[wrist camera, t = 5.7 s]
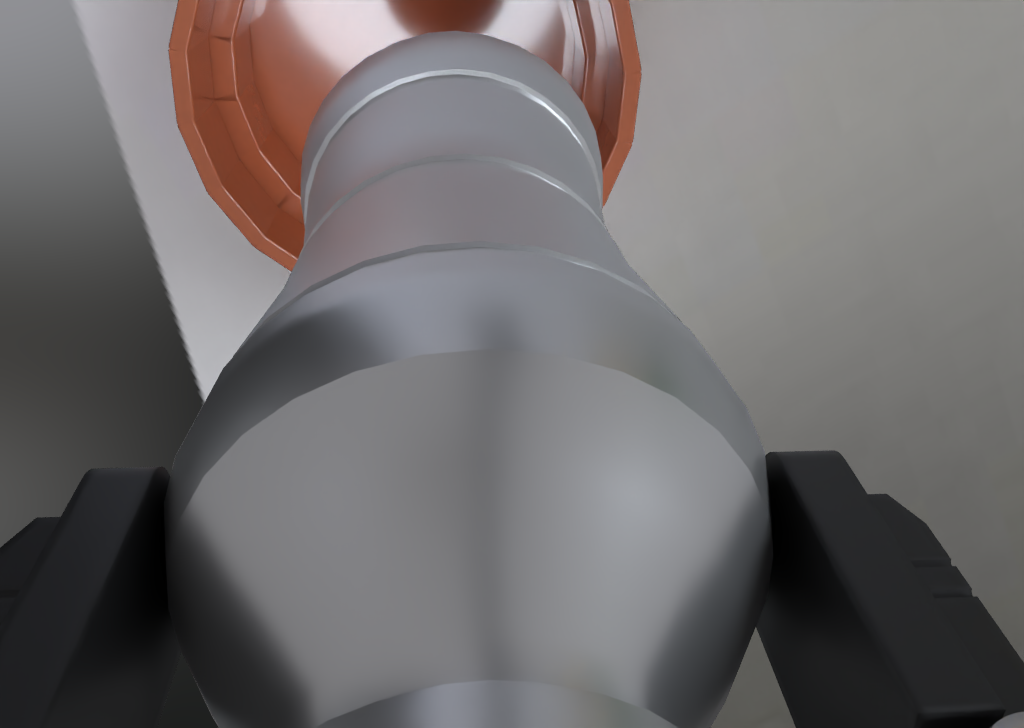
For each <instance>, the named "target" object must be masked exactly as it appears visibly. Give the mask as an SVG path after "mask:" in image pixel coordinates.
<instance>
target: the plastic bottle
mask: <svg viewBox="0 0 1024 728" xmlns="http://www.w3.org/2000/svg"><path fill="white" fill-rule="evenodd" d="M301 206H302V213H303V219H304V225H305V236H304V245H303V248H302V250H301V252H300V255H299V258H298V260H297V262H296V264H295V266H294V268H293V270H292V272H291V274H290V276H289V278H288V281H287V283H286V285H285V287H284V289H283V290H282V291H281V293H280V294H279V295H278V297H277V298H276V299H275V301H274V302H273V303H272V305H271V306H270V307H269V309H268V310H267V312H266V313H265V314H264V316H263V317H262V318H261V320H260V321H259V322H258V324H257V325H256V326H255V328H254V329H253V330H252V332H251V333H250V334H249V336H248V337H247V338H246V340H245V341H244V342H243V344H242V345H241V346H240V348H239V349H238V351H237V352H236V353H235V355H234V356H233V358H232V359H231V360H230V361H229V363H228V364H227V365H226V366H225V367H224V368H223V370H222V372H221V374H220V375H219V377H218V379H217V381H216V383H215V385H214V386H213V388H212V390H211V392H210V394H209V396H208V397H207V399H206V401H205V403H204V405H203V407H202V408H201V410H200V412H199V414H198V416H197V417H196V419H195V421H194V423H193V425H192V427H191V428H190V430H189V432H188V434H187V436H186V438H185V440H184V442H183V443H182V445H181V447H180V449H179V451H178V452H177V454H176V456H175V460H174V464H173V468H172V472H171V476H170V480H169V484H168V488H167V492H166V496H165V500H164V531H165V560H166V578H167V595H168V610H169V613H170V616H171V620H172V623H173V626H174V629H175V633H176V636H177V639H178V642H179V646H180V649H181V652H182V654H183V656H184V658H185V660H186V662H187V664H188V666H189V668H190V670H191V673H192V675H193V677H194V679H195V681H196V683H197V685H198V687H199V689H200V692H201V694H202V696H203V698H204V700H205V702H206V704H207V706H208V708H209V710H210V713H211V715H212V717H213V718H214V720H215V721H216V723H217V725H218V726H219V728H710V727H711V726H712V724H713V722H714V721H715V719H716V717H717V715H718V714H719V712H720V710H721V709H722V707H723V705H724V703H725V701H726V699H727V697H728V694H729V692H730V689H731V687H732V684H733V682H734V679H735V677H736V674H737V672H738V669H739V667H740V664H741V662H742V659H743V657H744V654H745V652H746V649H747V647H748V644H749V642H750V639H751V637H752V634H753V632H754V629H755V627H756V624H757V622H758V619H759V617H760V614H761V612H762V609H763V607H764V604H765V602H766V599H767V596H768V589H769V582H770V575H771V568H772V561H773V539H772V518H771V498H770V488H769V481H768V473H767V465H766V458H765V451H764V448H763V446H762V443H761V441H760V438H759V436H758V434H757V431H756V429H755V426H754V424H753V422H752V419H751V417H750V414H749V412H748V410H747V407H746V406H745V404H744V403H743V402H742V400H741V399H740V398H739V396H738V395H737V393H736V392H735V391H734V389H733V388H732V387H731V385H730V384H729V382H728V381H727V379H726V378H725V376H724V375H723V373H722V372H721V370H720V369H719V367H718V366H717V364H716V363H715V362H714V361H713V359H712V358H711V357H710V355H709V354H708V353H707V351H706V350H705V349H704V347H703V346H702V345H701V343H700V342H699V341H698V339H697V338H696V337H695V335H694V334H693V333H692V331H691V330H690V329H689V328H688V327H686V326H685V325H684V324H683V323H682V322H681V321H680V319H679V318H678V317H677V316H676V315H675V314H674V313H673V312H672V311H671V310H670V308H669V307H668V306H667V305H666V304H665V303H664V302H663V301H662V300H661V299H660V298H659V297H658V296H657V295H656V294H655V292H654V291H653V290H652V289H651V288H650V287H649V286H648V285H647V284H646V283H645V282H644V281H643V280H642V279H641V277H640V276H639V275H638V274H637V273H636V272H635V271H634V270H633V269H632V268H631V267H630V266H629V265H628V263H627V261H626V260H625V258H624V256H623V255H622V253H621V251H620V250H619V248H618V246H617V245H616V243H615V241H614V240H613V239H612V237H611V236H610V234H609V232H608V230H607V228H606V226H605V224H604V219H603V214H602V206H603V173H602V163H601V156H600V151H599V146H598V141H597V136H596V131H595V129H594V126H593V124H592V122H591V119H590V117H589V115H588V112H587V110H586V108H585V106H584V104H583V102H582V101H581V100H580V98H579V97H578V96H577V94H576V93H575V91H574V90H573V89H572V87H571V86H570V84H569V83H568V82H567V81H566V80H565V79H564V78H563V77H562V76H561V75H560V74H559V73H558V72H557V71H555V70H554V69H553V68H552V67H551V66H550V65H549V64H548V63H547V62H545V61H544V60H542V59H541V58H539V57H537V56H535V55H534V54H532V53H530V52H529V51H527V50H525V49H523V48H522V47H520V46H518V45H515V44H512V43H509V42H506V41H503V40H500V39H497V38H494V37H491V36H488V35H484V34H477V33H469V32H461V31H447V32H434V33H426V34H422V35H419V36H415V37H412V38H408V39H405V40H401V41H398V42H396V43H393V44H392V45H390V46H388V47H386V48H384V49H382V50H380V51H378V52H376V53H374V54H372V55H370V56H368V57H366V58H365V59H364V60H363V61H361V62H360V63H359V64H358V65H356V66H355V67H354V68H353V69H351V70H350V71H349V72H348V73H346V74H345V75H344V76H343V77H342V78H341V79H340V80H339V82H338V83H337V84H336V85H335V86H334V88H333V89H332V90H331V91H330V93H329V94H328V95H327V96H326V97H325V99H324V100H323V102H322V104H321V106H320V107H319V109H318V111H317V113H316V115H315V117H314V119H313V121H312V123H311V125H310V127H309V131H308V135H307V138H306V142H305V145H304V149H303V153H302V167H301Z"/></svg>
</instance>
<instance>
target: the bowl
mask: <svg viewBox="0 0 1024 728" xmlns="http://www.w3.org/2000/svg"><path fill="white" fill-rule="evenodd" d="M447 31H461V32H469V33H477V34H484V35H488V36H491V37H494V38H497V39H500V40H503V41H506V42H509V43H512V44H515V45H518V46H520V47H522V48H523V49H525V50H527V51H529V52H530V53H532V54H534V55H535V56H537V57H539V58H541V59H542V60H544V61H545V62H547V63H548V64H549V65H550V66H551V67H552V68H553V69H554V70H555V71H557V72H558V73H559V74H560V75H561V76H562V77H563V78H564V79H565V80H566V81H567V82H568V83H569V84H570V86H571V87H572V89H573V90H574V91H575V93H576V94H577V96H578V97H579V98H580V100H581V101H582V102H583V104H584V106H585V108H586V110H587V112H588V115H589V117H590V119H591V122H592V124H593V126H594V129H595V131H596V136H597V141H598V146H599V151H600V156H601V163H602V173H603V206H604V205H605V203H606V201H607V199H608V197H609V194H610V192H611V190H612V188H613V186H614V184H615V181H616V179H617V177H618V175H619V173H620V170H621V168H622V166H623V164H624V162H625V159H626V157H627V155H628V153H629V151H630V148H631V146H632V142H633V138H634V130H635V122H636V114H637V106H638V98H639V90H640V82H641V64H640V59H639V53H638V48H637V42H636V37H635V31H634V26H633V20H632V15H631V9H630V4H629V0H178V4H177V9H176V14H175V18H174V23H173V28H172V33H171V38H170V42H169V50H168V51H169V60H170V68H171V77H172V85H173V94H174V102H175V111H176V119H177V124H178V128H179V130H180V132H181V135H182V137H183V139H184V141H185V144H186V146H187V148H188V150H189V153H190V155H191V157H192V159H193V162H194V164H195V166H196V168H197V171H198V173H199V175H200V177H201V180H202V182H203V184H204V186H205V188H206V191H207V192H208V194H209V195H210V196H211V197H212V199H213V200H214V201H215V202H216V203H217V204H218V206H219V207H220V208H221V209H222V210H223V212H224V213H225V214H226V215H227V216H228V217H229V219H230V220H231V221H232V222H233V223H234V224H235V226H236V227H237V228H238V229H239V230H240V231H241V233H242V234H243V235H244V236H245V237H246V238H247V240H248V241H249V242H250V243H251V244H252V245H253V246H254V247H255V248H256V249H258V250H259V251H261V252H262V253H264V254H265V255H267V256H268V257H270V258H271V259H273V260H275V261H276V262H278V263H279V264H281V265H282V266H284V267H285V268H287V269H288V270H290V271H291V272H292V270H293V268H294V266H295V264H296V262H297V260H298V258H299V255H300V252H301V250H302V248H303V245H304V236H305V225H304V219H303V213H302V206H301V167H302V153H303V149H304V145H305V142H306V138H307V135H308V131H309V127H310V125H311V123H312V121H313V119H314V117H315V115H316V113H317V111H318V109H319V107H320V106H321V104H322V102H323V100H324V99H325V97H326V96H327V95H328V94H329V93H330V91H331V90H332V89H333V88H334V86H335V85H336V84H337V83H338V82H339V80H340V79H341V78H342V77H343V76H344V75H345V74H346V73H348V72H349V71H350V70H351V69H353V68H354V67H355V66H356V65H358V64H359V63H360V62H361V61H363V60H364V59H365V58H366V57H368V56H370V55H372V54H374V53H376V52H378V51H380V50H382V49H384V48H386V47H388V46H390V45H392V44H393V43H396V42H398V41H401V40H405V39H408V38H412V37H415V36H419V35H422V34H426V33H434V32H447ZM603 206H602V208H603Z"/></svg>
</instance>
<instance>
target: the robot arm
mask: <svg viewBox="0 0 1024 728" xmlns="http://www.w3.org/2000/svg"><path fill="white" fill-rule="evenodd" d="M765 458H766V465H767V473H768V481H769V488H770V498H771V518H772V539H773V561H772V568H771V575H770V582H769V589H768V596H767V599H766V602H765V604H764V607H763V609H762V612H761V614H760V617H759V619H758V622H757V624H756V628H757V630H758V633H759V635H760V638H761V641H762V643H763V646H764V648H765V651H766V653H767V656H768V658H769V661H770V663H771V666H772V668H773V671H774V673H775V676H776V678H777V681H778V683H779V686H780V688H781V691H782V694H783V696H784V699H785V701H786V704H787V706H788V709H789V711H790V714H791V716H792V719H793V721H794V724H795V726H796V728H1024V662H1023V661H1022V660H1021V658H1020V657H1019V655H1018V654H1017V652H1016V651H1015V650H1014V648H1013V647H1012V645H1011V644H1010V643H1009V641H1008V640H1007V638H1006V637H1005V635H1004V634H1003V633H1002V631H1001V630H1000V628H999V627H998V625H997V624H996V623H995V621H994V620H993V618H992V617H991V615H990V614H989V613H988V611H987V610H986V608H985V607H984V605H983V604H982V603H981V601H980V600H979V598H978V597H973V596H972V592H971V590H972V588H971V587H970V586H969V584H968V583H967V581H966V580H965V578H964V577H963V576H962V574H961V573H960V571H959V570H958V568H957V567H956V566H952V565H951V559H950V557H949V556H948V554H947V553H946V551H945V550H944V549H943V547H942V546H941V544H940V543H939V541H938V540H937V539H936V537H935V536H934V534H933V533H932V531H931V530H930V529H929V527H928V526H927V524H926V523H924V522H923V521H922V520H920V519H919V518H918V517H917V516H915V515H914V514H913V513H911V512H910V511H909V510H907V509H906V508H905V507H903V506H902V505H901V504H899V503H898V502H897V501H895V500H894V499H893V498H891V497H890V496H889V495H887V494H867V493H866V491H865V490H864V488H863V487H862V485H861V484H860V482H859V480H858V479H857V477H856V476H855V474H854V473H853V471H852V470H851V468H850V466H849V465H848V463H847V462H846V460H845V459H844V457H843V456H842V455H841V454H840V453H839V452H837V451H795V452H770V453H768V454H767V455H766V456H765ZM169 480H170V475H169V473H168V472H167V470H166V469H165V468H164V467H138V468H102V469H91V470H89V471H88V472H87V473H86V474H85V475H84V477H83V478H82V480H81V482H80V483H79V485H78V487H77V489H76V491H75V492H74V494H73V496H72V498H71V500H70V502H69V503H68V505H67V507H66V509H65V511H64V512H63V514H62V516H61V517H47V518H46V517H45V518H36V519H34V520H33V521H32V522H31V523H30V524H28V525H27V526H26V527H25V528H24V529H22V530H21V531H20V532H19V533H17V534H16V535H15V536H14V537H13V538H11V539H10V540H9V541H8V542H7V543H5V544H4V545H3V546H2V547H1V548H0V728H157V727H158V725H159V721H160V718H161V715H162V712H163V709H164V705H165V702H166V699H167V696H168V693H169V689H170V687H171V684H172V680H173V677H174V674H175V671H176V668H177V665H178V661H179V658H180V655H181V649H180V646H179V642H178V639H177V636H176V633H175V629H174V626H173V623H172V620H171V616H170V613H169V610H168V595H167V578H166V560H165V531H164V500H165V496H166V492H167V488H168V484H169Z"/></svg>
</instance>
